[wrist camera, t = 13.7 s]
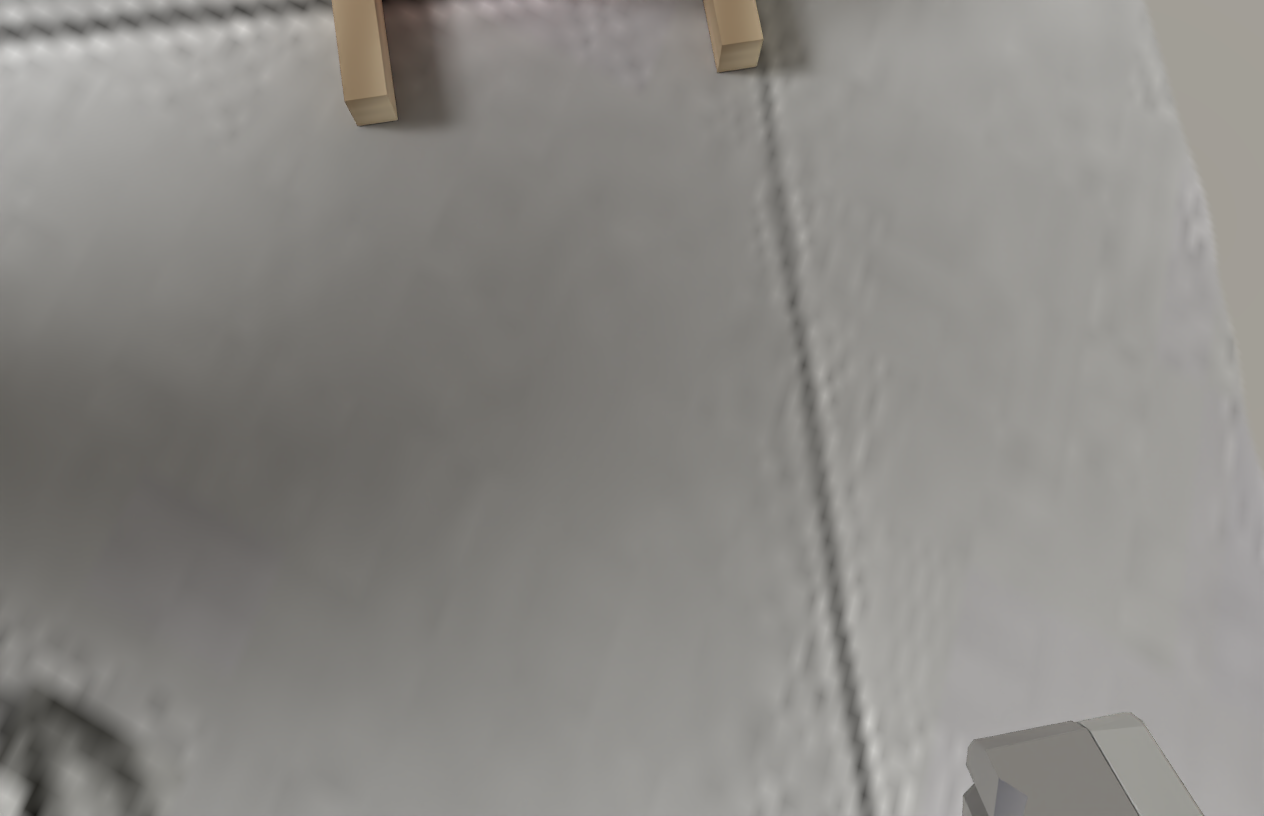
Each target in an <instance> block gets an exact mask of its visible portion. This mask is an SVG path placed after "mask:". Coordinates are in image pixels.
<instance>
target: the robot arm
mask: <svg viewBox="0 0 1264 816" xmlns="http://www.w3.org/2000/svg"><path fill="white" fill-rule="evenodd" d="M966 766H967V768H968V770H969V773H970V775H971V777H972V779H973V782H974V784H973V785H972V786H971V787H970V789H969V790H968V791H967V792H966V793H965V794H964V795H963V811H962V816H1204V815H1203V813H1202V812H1201V810H1200V809H1199V807H1198V806H1197V804H1196V802H1195V801H1194V799H1193V798H1192V796H1191V795H1190V793H1189V792H1188V790H1187V789H1186V787H1185V786H1184V784H1183V783H1182V781H1181V780H1180V778H1179V777H1178V775H1177V773H1176V772H1175V770H1174V769H1173V767H1172V766H1171V764H1170V763H1169V761H1168V760H1167V758H1166V757H1165V755H1164V754H1163V752H1162V751H1161V749H1160V748H1159V746H1158V744H1157V743H1156V741H1155V740H1154V738H1153V737H1152V735H1151V734H1150V732H1149V731H1148V729H1147V728H1146V726H1145V725H1144V723H1143V722H1142V721H1141V720H1140V719H1139V718H1137V717H1136V716H1135V715H1133V714H1132V713H1118V714H1113V715H1108V716H1103V717H1098V718H1093V719H1088V720H1083V721H1078V722H1073V721H1067V722H1062V723H1057V724H1052V725H1047V726H1041V727H1036V728H1031V729H1026V730H1021V731H1016V732H1011V733H1006V734H1000V735H995V736H990V737H985V738H980V739H975V740H973V741H972V742H971V744H970V745H969V747H968V752H967V761H966Z"/></svg>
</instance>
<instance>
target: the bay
mask: <svg viewBox="0 0 1264 816" xmlns="http://www.w3.org/2000/svg"><path fill="white" fill-rule="evenodd" d="M703 3H704V8H705V13H706V18H707V23H708V28H709V33H710V38H711V43H712V48H713V53H714V59H715V64H716V69H717V73H718V72H724V71H731V70H738V69H744V68H751V67H757V63H758V59H759V55H760V51H761V47H762V43H763V34H762V30H761V25H760V20H759V15H758V10H757V5H756V1H755V0H703ZM332 6H333V14H334V22H335V30H336V38H337V46H338V54H339V61H340V69H341V77H342V85H343V93H344V101H345V103H346V105H347V107H348V109H349V111H350V112H351V114H352V116H353V118H354V120H355V122H356V124H357V126H362V125H369V124H375V123H382V122H389V121H395V120H398V116H397V108H396V101H395V94H394V86H393V79H392V72H391V64H390V57H389V50H388V42H387V35H386V28H385V21H384V13H383V6H382V0H332Z"/></svg>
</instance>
